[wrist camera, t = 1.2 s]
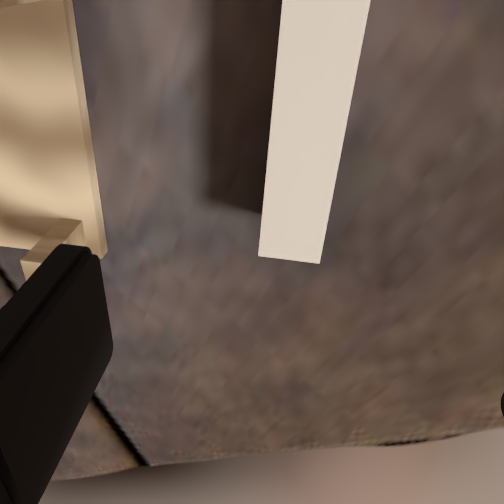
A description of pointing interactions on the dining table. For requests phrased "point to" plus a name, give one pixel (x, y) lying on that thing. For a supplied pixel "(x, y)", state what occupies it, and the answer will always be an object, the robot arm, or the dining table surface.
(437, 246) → the dining table surface
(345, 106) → the white rectangular block
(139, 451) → the dining table surface
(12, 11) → the rack
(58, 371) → the robot arm
